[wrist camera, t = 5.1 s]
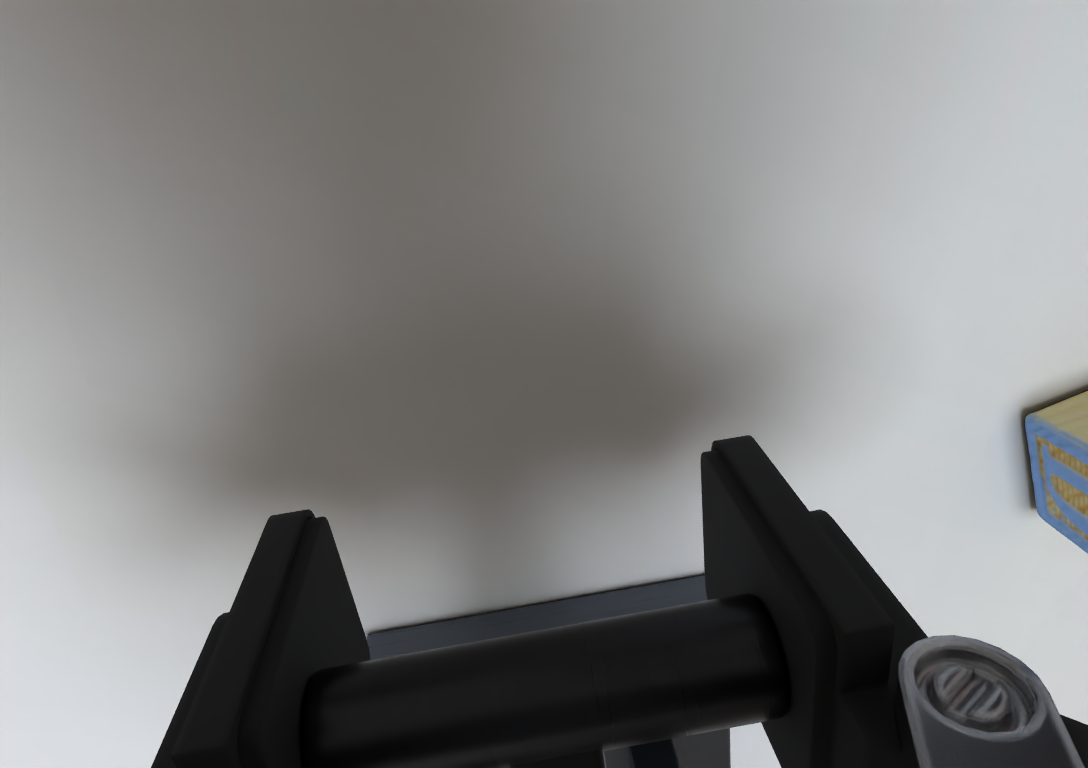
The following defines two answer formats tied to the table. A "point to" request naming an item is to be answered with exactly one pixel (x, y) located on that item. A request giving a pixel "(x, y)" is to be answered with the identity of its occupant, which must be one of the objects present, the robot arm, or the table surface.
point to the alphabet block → (1061, 466)
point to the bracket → (668, 764)
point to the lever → (552, 692)
